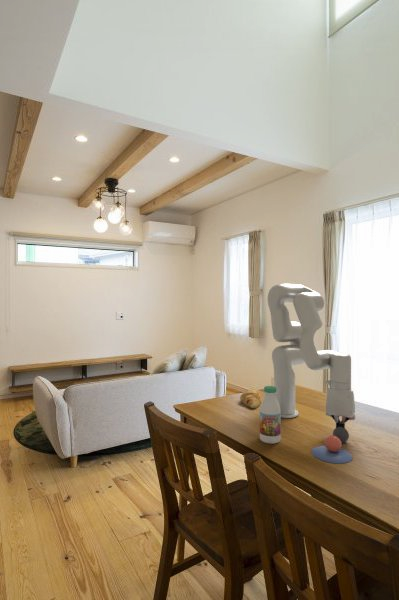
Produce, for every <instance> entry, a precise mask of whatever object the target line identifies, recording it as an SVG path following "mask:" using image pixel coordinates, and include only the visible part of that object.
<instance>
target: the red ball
mask: <svg viewBox="0 0 399 600" xmlns="http://www.w3.org/2000/svg"><path fill="white" fill-rule="evenodd" d="M324 439H325V440H324V446H326V448H327V449H328V450H329V451H331V452H338V451H339V450H340V449H342V443H341V441H340V439H339V438H338V437H336V436H334V435H333V434H331V435H327V436H326V438H324Z"/></svg>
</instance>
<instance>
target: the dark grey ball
mask: <svg viewBox="0 0 399 600" xmlns="http://www.w3.org/2000/svg"><path fill="white" fill-rule="evenodd" d="M332 435H334V436H336V437H338V438H339V439H340V441H341V444H343V443H345V442H346V443H347V441H348V440H349V437H350V434H349V431H348V429H346V427H345V428H343V427H337V428H336V427H335V428H334V429H333V432H332Z"/></svg>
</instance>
